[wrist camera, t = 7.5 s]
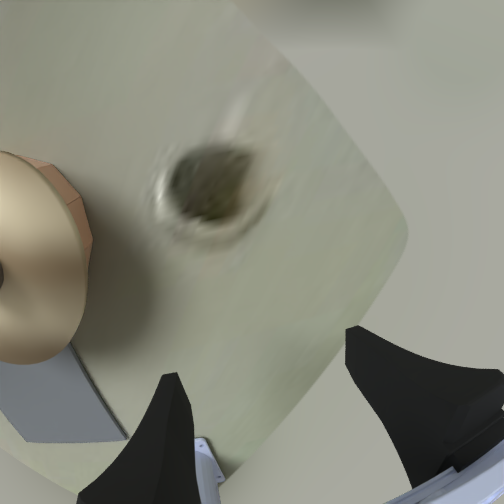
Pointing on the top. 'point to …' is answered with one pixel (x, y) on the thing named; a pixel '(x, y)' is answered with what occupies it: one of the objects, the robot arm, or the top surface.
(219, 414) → the top surface
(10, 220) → the oak lid
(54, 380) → the rubber mat
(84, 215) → the terracotta bowl
